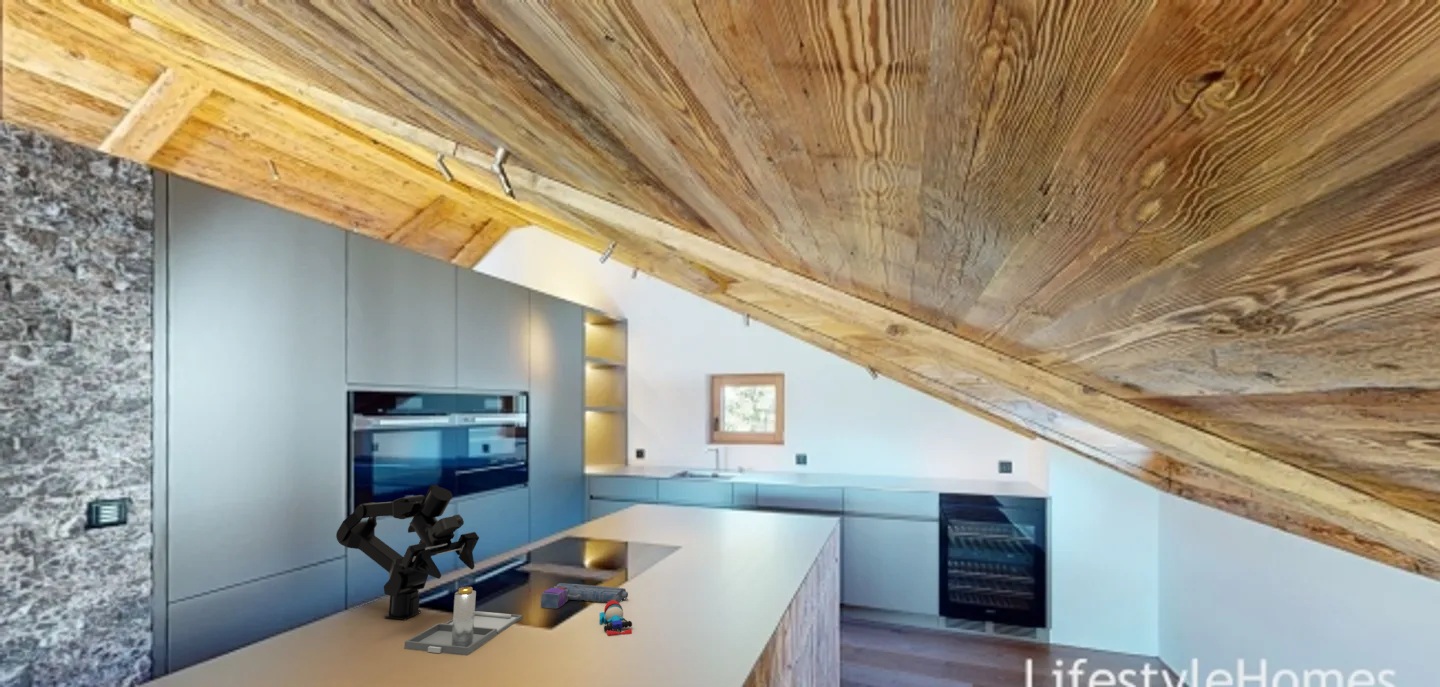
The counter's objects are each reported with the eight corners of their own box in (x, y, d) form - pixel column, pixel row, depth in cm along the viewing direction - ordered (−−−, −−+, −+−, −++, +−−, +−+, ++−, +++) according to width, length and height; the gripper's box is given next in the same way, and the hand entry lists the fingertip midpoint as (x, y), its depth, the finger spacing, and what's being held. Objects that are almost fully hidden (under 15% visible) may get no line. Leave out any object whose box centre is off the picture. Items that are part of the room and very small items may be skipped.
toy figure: (634, 640, 151) (623, 610, 165) (634, 621, 151) (623, 593, 165) (604, 646, 148) (596, 615, 163) (604, 627, 148) (596, 598, 162)
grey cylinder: (446, 649, 136) (450, 590, 138) (459, 641, 141) (462, 584, 142) (465, 651, 136) (468, 592, 137) (476, 643, 140) (480, 586, 141)
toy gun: (612, 597, 165) (631, 584, 179) (535, 591, 169) (558, 578, 184) (611, 615, 164) (630, 600, 179) (533, 607, 168) (557, 594, 183)
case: (401, 654, 136) (402, 642, 136) (437, 633, 148) (438, 623, 148) (465, 661, 133) (466, 649, 133) (496, 639, 145) (497, 628, 145)
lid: (437, 633, 148) (437, 624, 148) (467, 616, 160) (468, 607, 160) (495, 639, 145) (496, 630, 145) (522, 621, 157) (522, 612, 158)
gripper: (405, 513, 149) (433, 556, 141) (472, 501, 164) (500, 540, 157) (390, 547, 151) (417, 592, 144) (457, 532, 167) (484, 572, 159)
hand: (457, 572), depth 151 cm, fingers open, 9 cm apart
